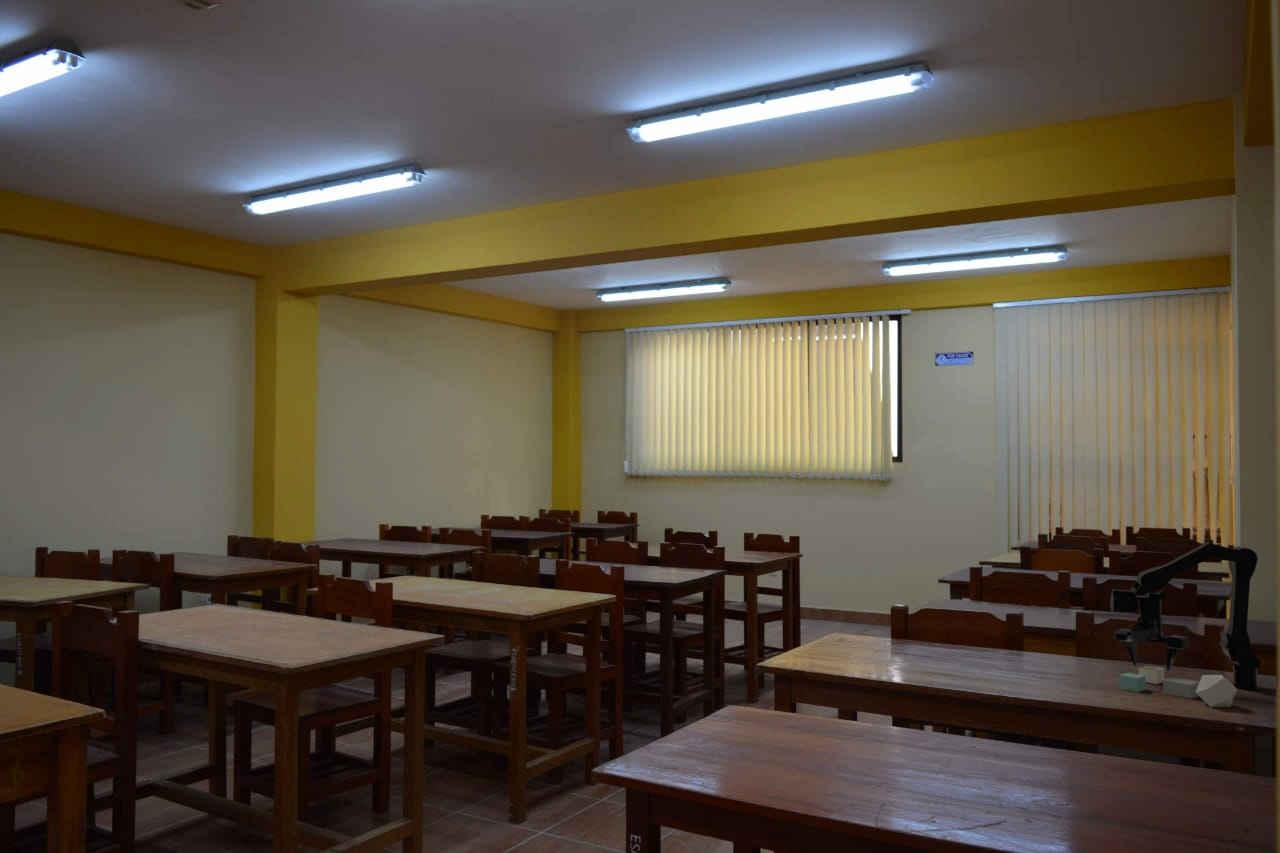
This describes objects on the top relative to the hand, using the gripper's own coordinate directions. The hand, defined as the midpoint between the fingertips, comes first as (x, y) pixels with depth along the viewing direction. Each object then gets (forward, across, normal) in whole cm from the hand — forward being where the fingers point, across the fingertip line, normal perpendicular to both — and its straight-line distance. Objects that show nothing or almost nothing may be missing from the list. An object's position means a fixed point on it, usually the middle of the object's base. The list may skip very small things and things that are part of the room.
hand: (1151, 667), depth 270 cm
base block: (+4, +12, -11) cm, 17 cm away
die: (+4, +23, -17) cm, 29 cm away
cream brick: (+4, 0, 0) cm, 4 cm away
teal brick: (+4, +1, -15) cm, 16 cm away
